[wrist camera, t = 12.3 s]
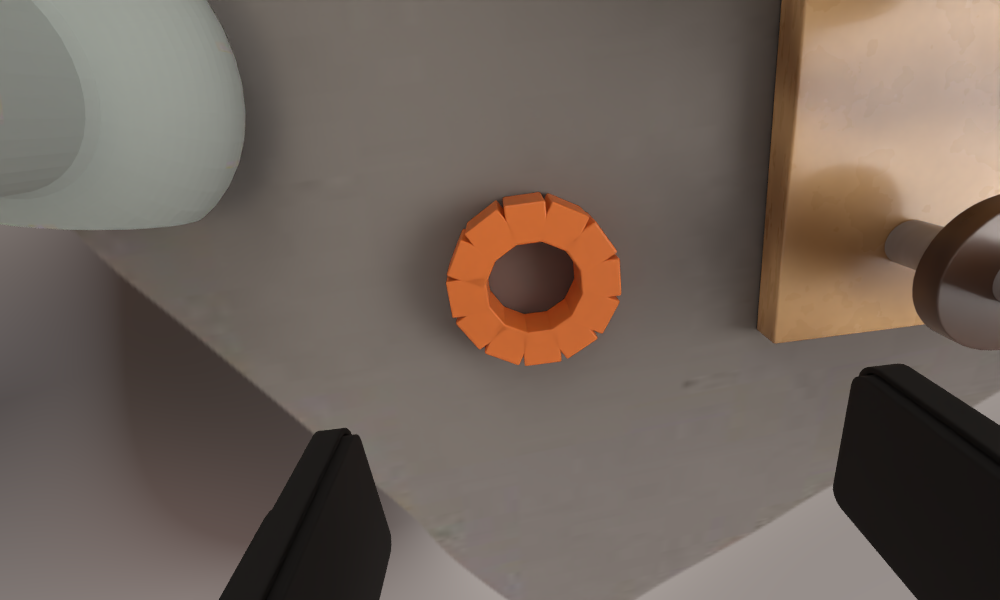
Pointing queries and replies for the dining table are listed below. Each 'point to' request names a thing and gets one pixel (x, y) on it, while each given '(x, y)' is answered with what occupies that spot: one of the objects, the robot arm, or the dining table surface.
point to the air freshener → (115, 113)
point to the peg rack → (884, 171)
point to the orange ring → (539, 331)
